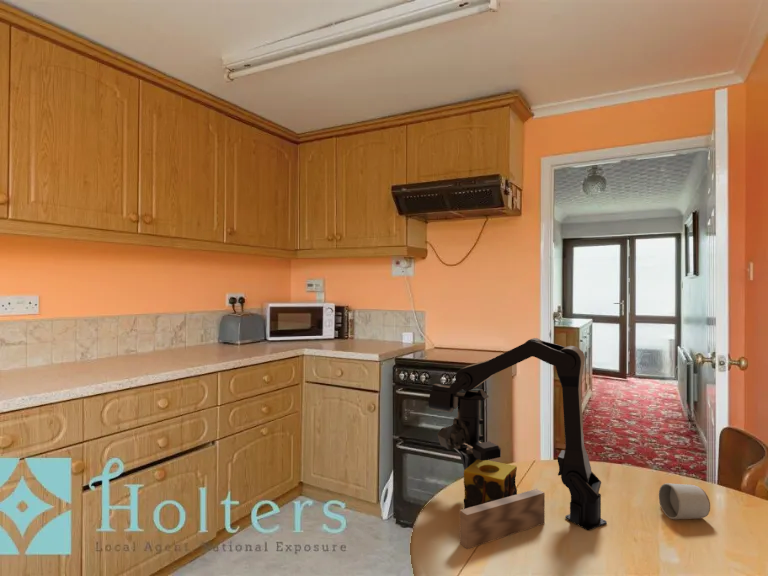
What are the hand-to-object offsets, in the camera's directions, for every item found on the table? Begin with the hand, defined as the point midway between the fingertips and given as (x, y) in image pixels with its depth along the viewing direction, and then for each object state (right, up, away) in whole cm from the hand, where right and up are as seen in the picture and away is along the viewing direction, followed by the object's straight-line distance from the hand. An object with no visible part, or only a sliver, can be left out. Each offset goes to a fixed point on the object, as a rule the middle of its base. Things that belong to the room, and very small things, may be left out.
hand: (468, 474), depth 123 cm
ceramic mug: (+48, -5, -11) cm, 50 cm away
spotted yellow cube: (+4, -5, -8) cm, 10 cm away
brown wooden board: (+5, -5, -19) cm, 20 cm away
